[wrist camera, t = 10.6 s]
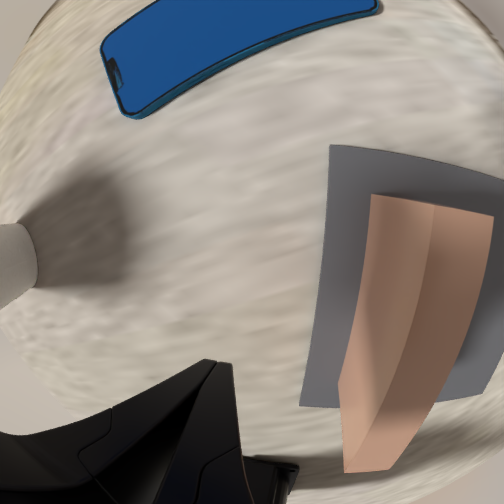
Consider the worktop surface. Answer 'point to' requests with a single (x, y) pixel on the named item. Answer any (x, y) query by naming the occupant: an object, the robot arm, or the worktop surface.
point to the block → (407, 322)
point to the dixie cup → (16, 262)
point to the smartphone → (204, 42)
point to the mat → (353, 254)
